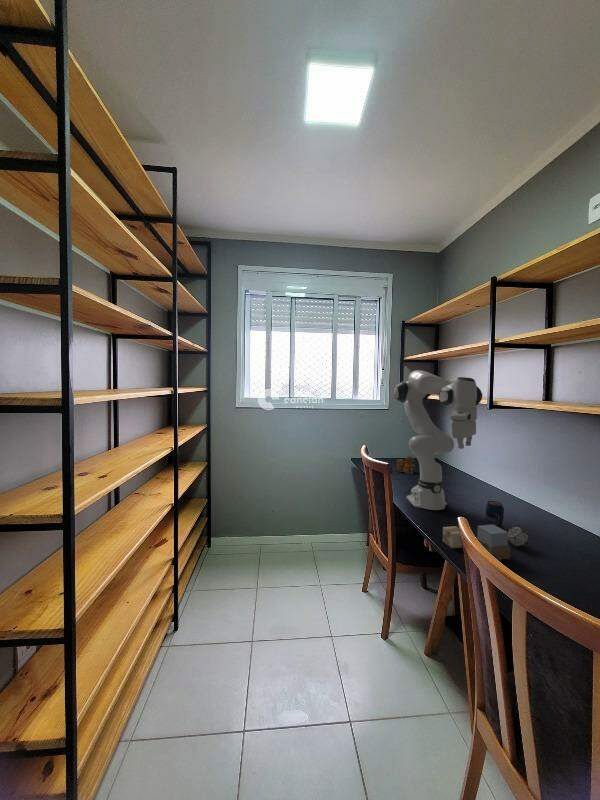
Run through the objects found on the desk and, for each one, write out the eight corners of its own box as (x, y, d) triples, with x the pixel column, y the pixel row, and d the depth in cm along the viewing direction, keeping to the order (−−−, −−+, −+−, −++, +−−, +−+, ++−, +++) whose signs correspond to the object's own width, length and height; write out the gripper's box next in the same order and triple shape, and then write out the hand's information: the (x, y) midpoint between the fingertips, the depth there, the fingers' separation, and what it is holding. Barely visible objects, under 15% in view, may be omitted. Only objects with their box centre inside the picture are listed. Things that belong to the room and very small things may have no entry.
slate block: (477, 538, 123) (477, 525, 123) (493, 536, 124) (493, 524, 124) (491, 547, 116) (491, 533, 116) (507, 545, 117) (507, 532, 117)
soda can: (483, 529, 142) (484, 503, 141) (487, 524, 147) (488, 499, 146) (501, 534, 137) (501, 507, 137) (504, 528, 142) (505, 502, 142)
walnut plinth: (475, 550, 123) (475, 537, 123) (492, 548, 125) (493, 536, 125) (490, 561, 116) (491, 548, 115) (509, 559, 117) (509, 546, 117)
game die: (512, 555, 127) (495, 534, 128) (516, 541, 132) (500, 521, 133) (534, 553, 120) (517, 531, 121) (538, 538, 125) (521, 517, 127)
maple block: (442, 541, 131) (442, 527, 131) (455, 540, 132) (455, 526, 132) (452, 548, 125) (452, 533, 125) (465, 547, 126) (465, 532, 126)
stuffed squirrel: (414, 475, 229) (414, 457, 229) (394, 473, 235) (394, 456, 235) (415, 472, 238) (416, 455, 238) (396, 470, 244) (396, 453, 244)
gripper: (464, 413, 143) (464, 443, 144) (448, 415, 129) (448, 449, 129) (480, 414, 139) (480, 444, 139) (465, 416, 124) (465, 451, 125)
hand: (464, 447), depth 134 cm, fingers open, 8 cm apart
